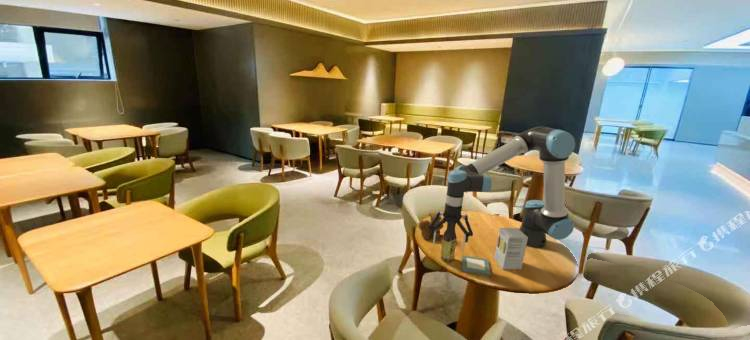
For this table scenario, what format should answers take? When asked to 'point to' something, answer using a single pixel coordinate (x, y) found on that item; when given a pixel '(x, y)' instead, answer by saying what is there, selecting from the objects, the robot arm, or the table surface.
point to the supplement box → (510, 248)
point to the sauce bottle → (449, 243)
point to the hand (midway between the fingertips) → (448, 245)
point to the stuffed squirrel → (427, 232)
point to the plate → (475, 265)
